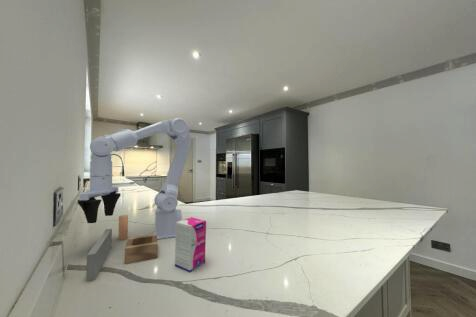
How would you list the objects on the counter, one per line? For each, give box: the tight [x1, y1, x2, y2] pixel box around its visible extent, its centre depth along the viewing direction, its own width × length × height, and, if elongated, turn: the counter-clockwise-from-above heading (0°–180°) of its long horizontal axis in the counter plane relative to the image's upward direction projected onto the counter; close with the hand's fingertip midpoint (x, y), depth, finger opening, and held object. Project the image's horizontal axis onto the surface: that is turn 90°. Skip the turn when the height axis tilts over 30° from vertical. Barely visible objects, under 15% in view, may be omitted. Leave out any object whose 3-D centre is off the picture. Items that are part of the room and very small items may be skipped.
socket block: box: [124, 233, 159, 265], centre depth 55 cm, size 8×8×4 cm
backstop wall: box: [85, 228, 113, 282], centre depth 51 cm, size 2×18×6 cm, turn 24°
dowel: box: [117, 214, 129, 241], centre depth 67 cm, size 3×3×8 cm
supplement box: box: [174, 217, 207, 273], centre depth 50 cm, size 6×6×12 cm
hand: (100, 218), depth 59 cm, fingers open, 7 cm apart
